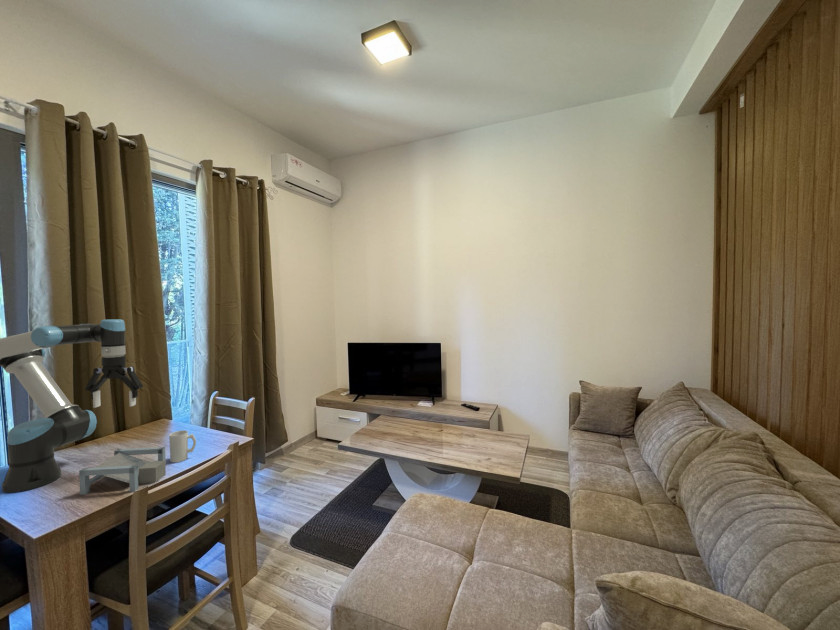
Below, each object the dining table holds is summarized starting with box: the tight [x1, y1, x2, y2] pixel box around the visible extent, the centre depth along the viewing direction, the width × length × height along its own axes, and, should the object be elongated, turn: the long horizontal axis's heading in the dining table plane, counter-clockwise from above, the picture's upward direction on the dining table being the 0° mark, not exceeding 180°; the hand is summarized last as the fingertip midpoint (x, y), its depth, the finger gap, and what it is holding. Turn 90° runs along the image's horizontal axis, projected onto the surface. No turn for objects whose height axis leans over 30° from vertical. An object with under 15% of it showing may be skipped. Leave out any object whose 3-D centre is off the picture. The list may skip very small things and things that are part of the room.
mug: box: [168, 430, 197, 463], centre depth 151 cm, size 10×7×12 cm, turn 109°
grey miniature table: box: [78, 446, 166, 496], centre depth 133 cm, size 18×18×9 cm
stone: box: [138, 460, 167, 485], centre depth 134 cm, size 6×6×6 cm
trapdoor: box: [93, 453, 149, 484], centre depth 132 cm, size 14×14×1 cm
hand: (115, 406), depth 141 cm, fingers open, 13 cm apart
